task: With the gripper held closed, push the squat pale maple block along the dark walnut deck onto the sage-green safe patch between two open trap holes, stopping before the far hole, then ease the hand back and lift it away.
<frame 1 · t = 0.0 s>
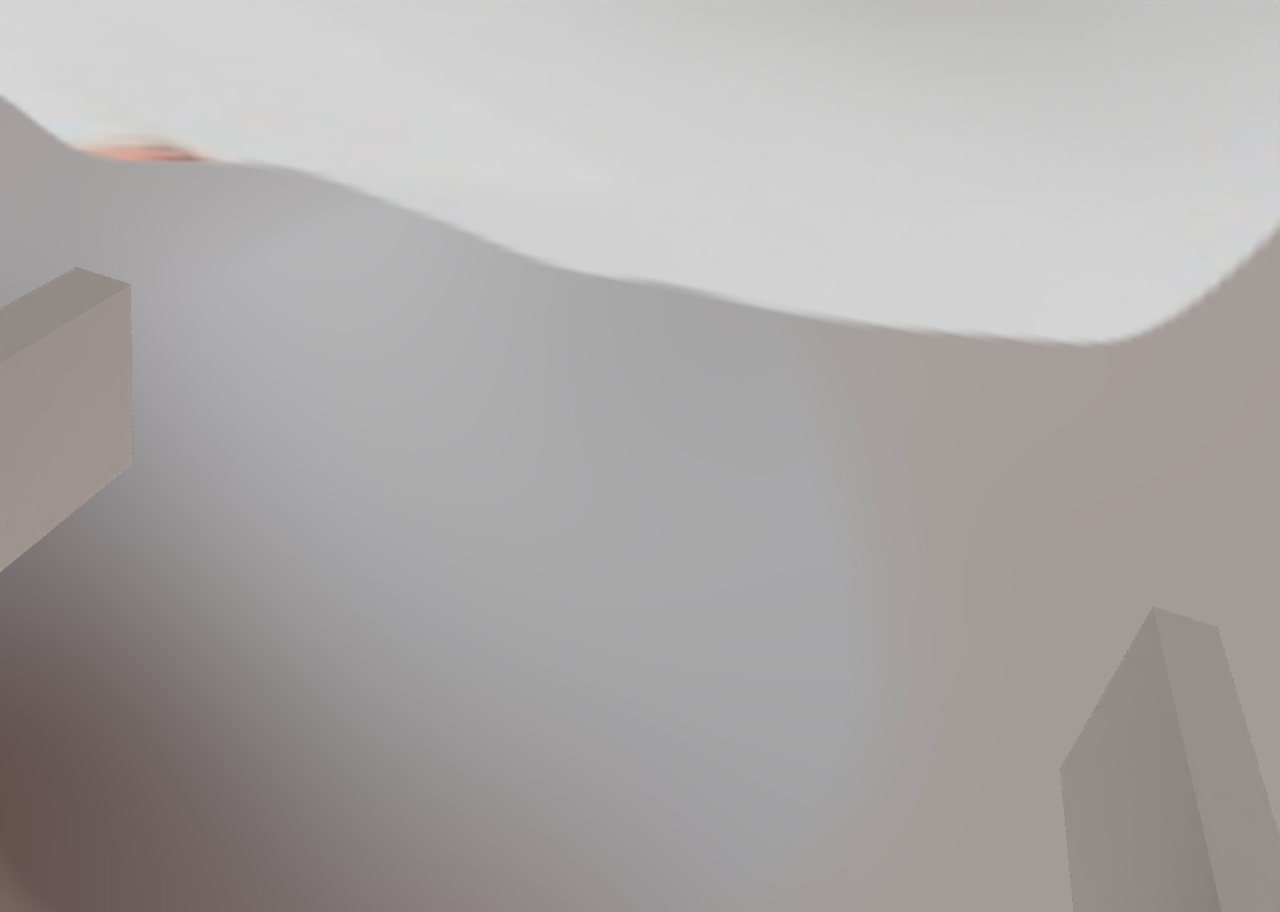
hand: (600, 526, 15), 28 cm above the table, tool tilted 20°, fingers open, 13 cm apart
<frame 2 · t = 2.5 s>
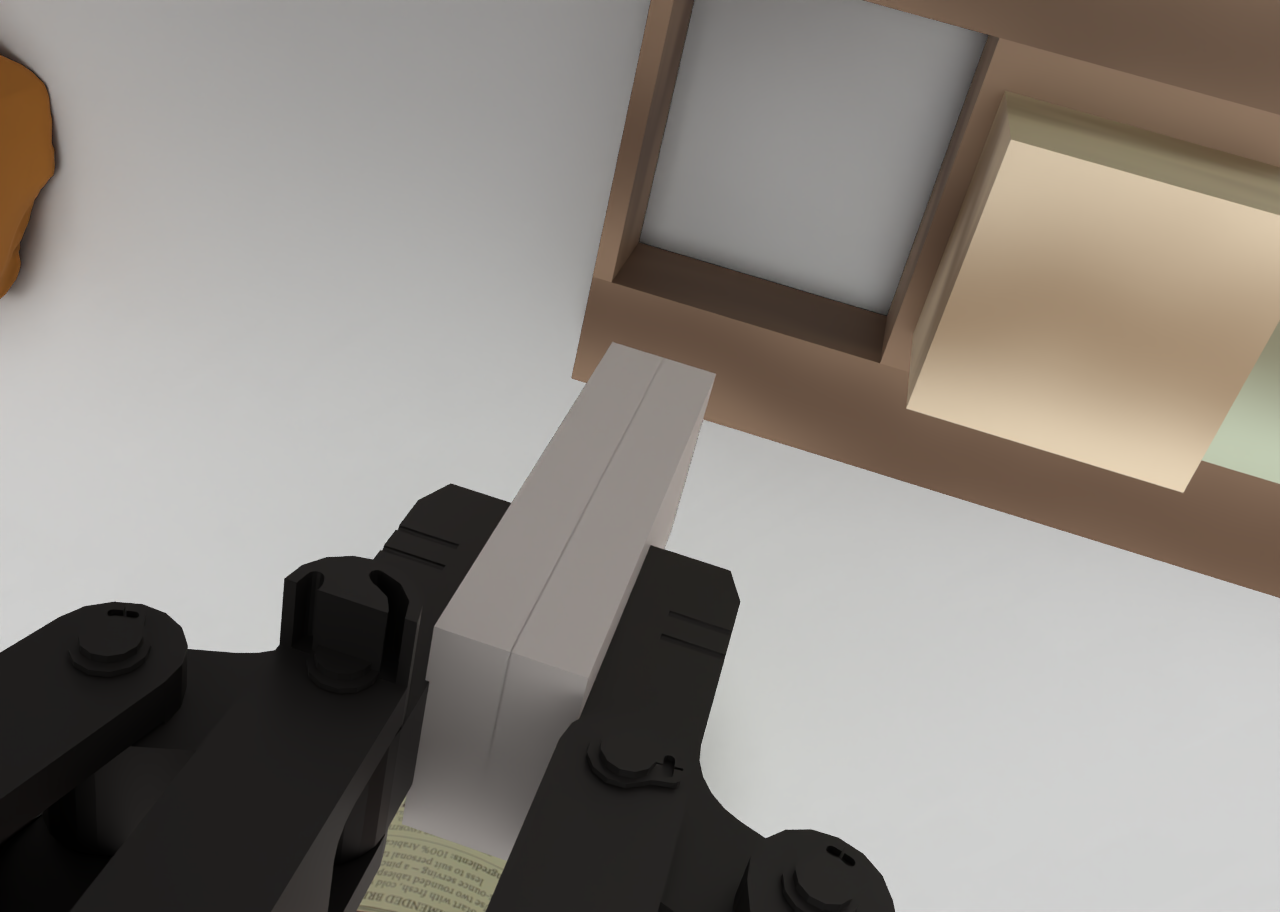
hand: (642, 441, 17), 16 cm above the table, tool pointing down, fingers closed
coffee can: (547, 709, 43), on the table
maple block: (1085, 256, 27), point 3 cm above the table, touching trap deck
trap deck: (1194, 248, 30), on the table
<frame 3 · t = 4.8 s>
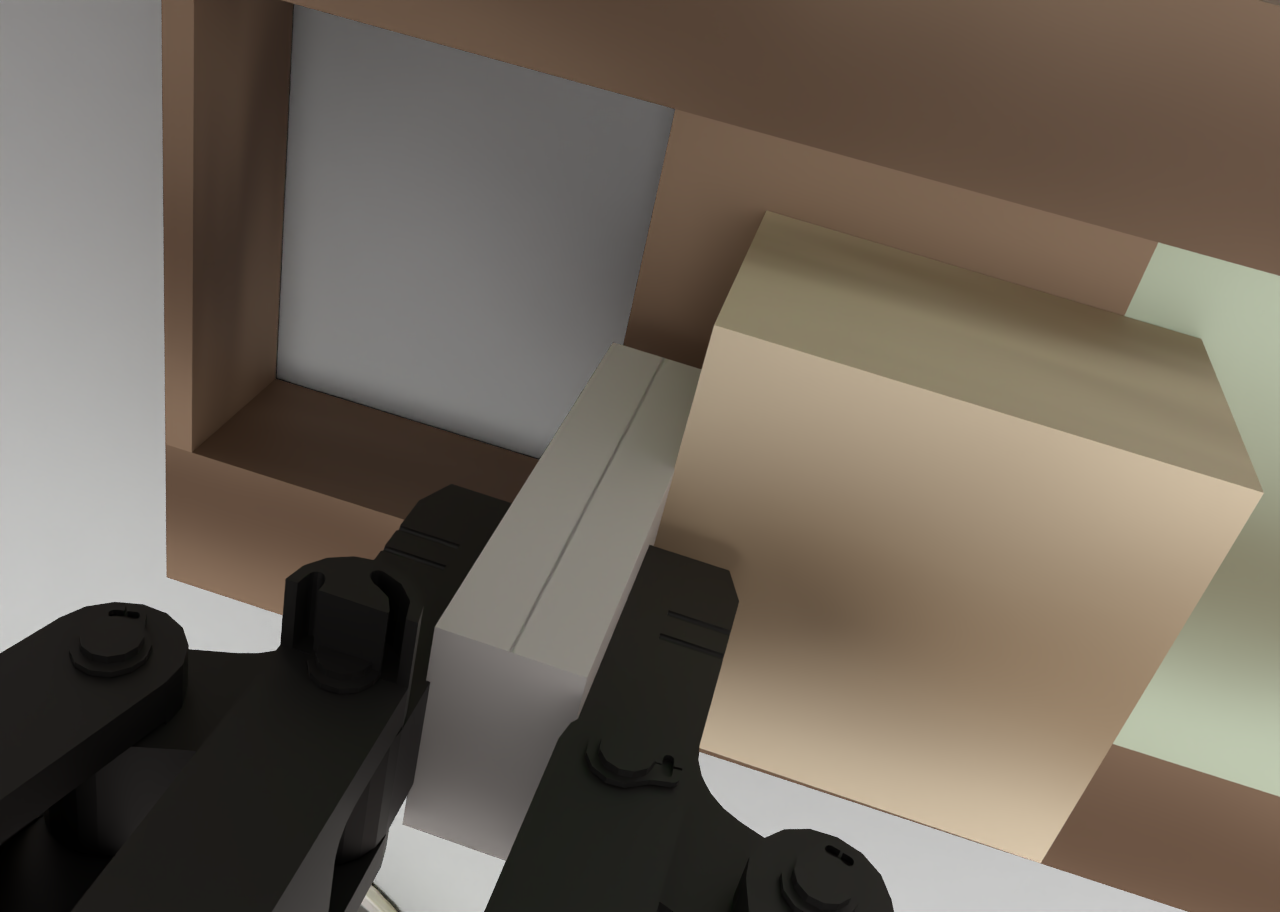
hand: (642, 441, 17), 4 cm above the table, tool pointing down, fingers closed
maple block: (907, 456, 18), point 3 cm above the table, touching gripper
trap deck: (1031, 402, 20), on the table
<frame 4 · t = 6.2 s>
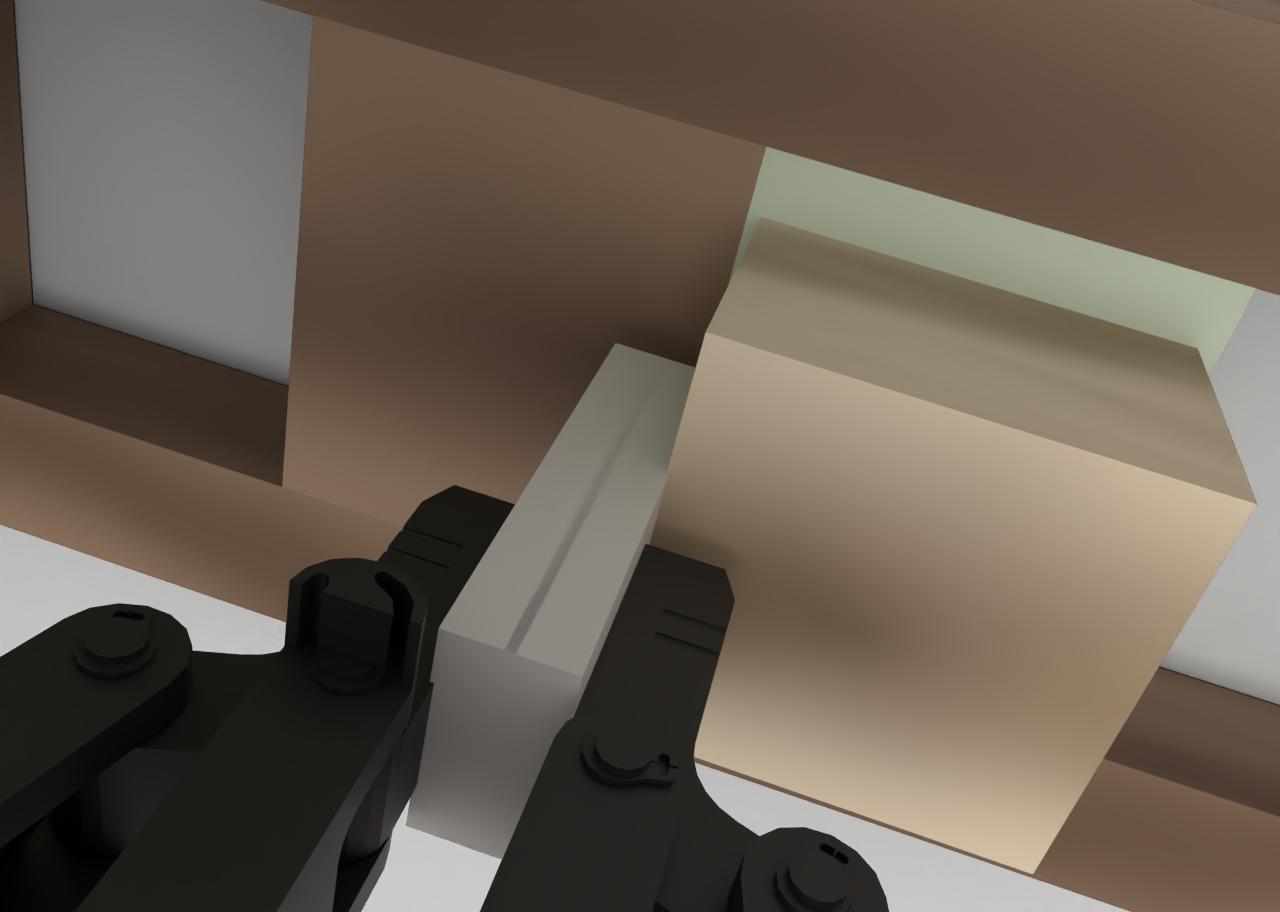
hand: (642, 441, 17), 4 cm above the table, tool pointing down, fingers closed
maple block: (902, 464, 18), point 3 cm above the table, touching gripper, trap deck
trap deck: (730, 325, 21), on the table
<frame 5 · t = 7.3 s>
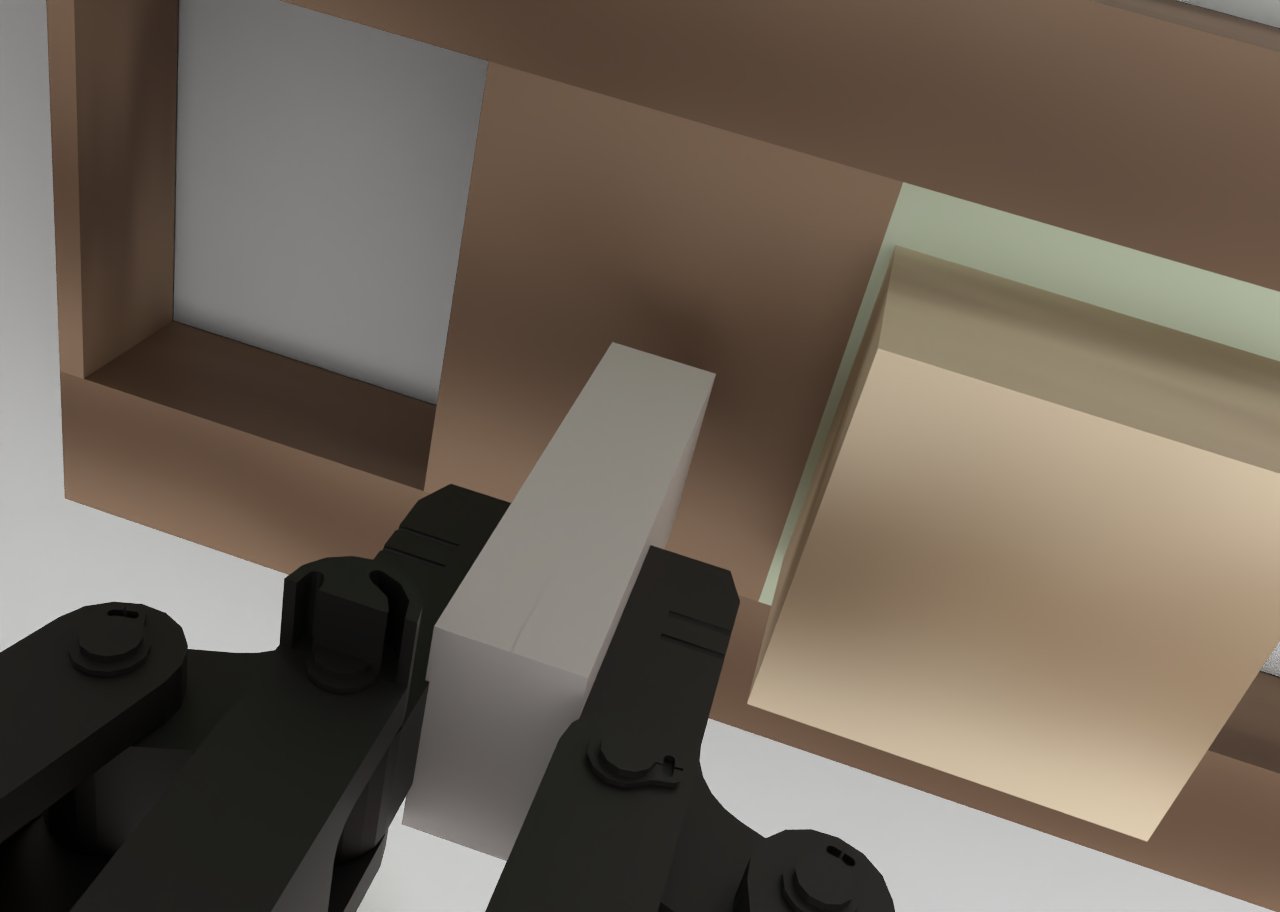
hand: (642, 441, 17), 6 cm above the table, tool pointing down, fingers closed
maple block: (1014, 470, 19), point 3 cm above the table, touching trap deck
trap deck: (840, 343, 22), on the table
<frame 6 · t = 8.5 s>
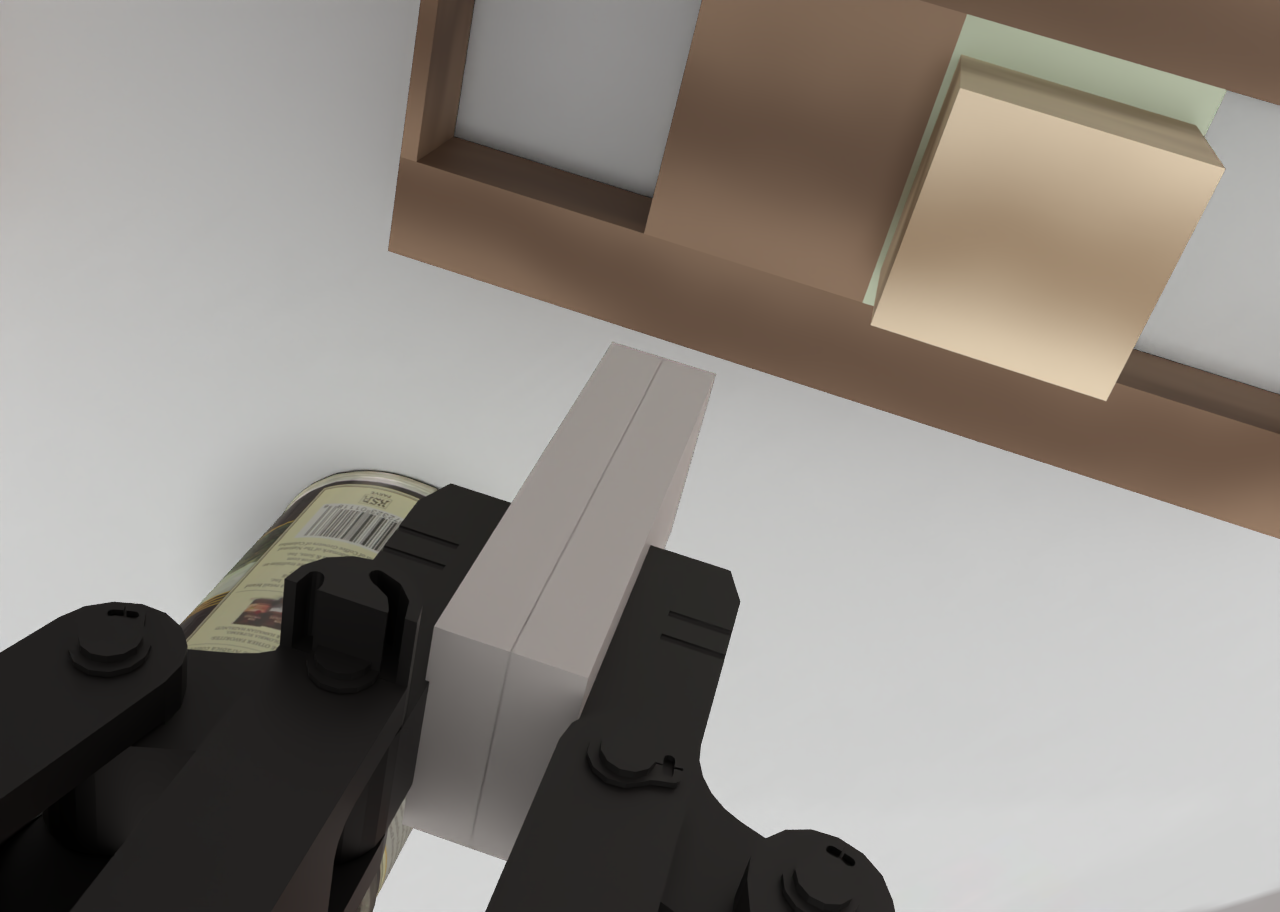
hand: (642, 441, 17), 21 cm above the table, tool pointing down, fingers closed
coffee can: (400, 581, 47), on the table
maple block: (1029, 201, 31), point 3 cm above the table, touching trap deck
trap deck: (915, 139, 34), on the table
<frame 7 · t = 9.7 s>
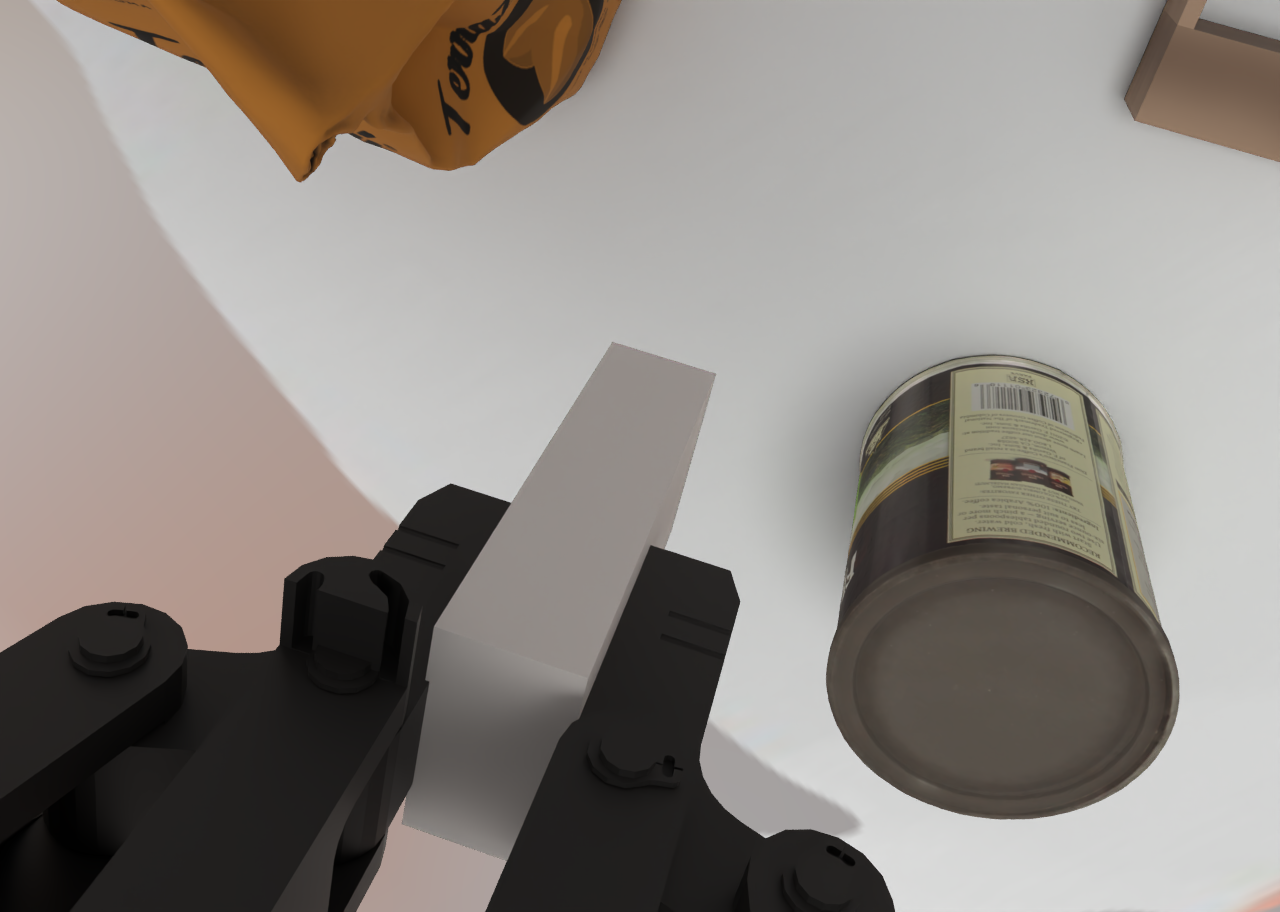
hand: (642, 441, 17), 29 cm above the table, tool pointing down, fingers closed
coffee can: (989, 468, 49), on the table
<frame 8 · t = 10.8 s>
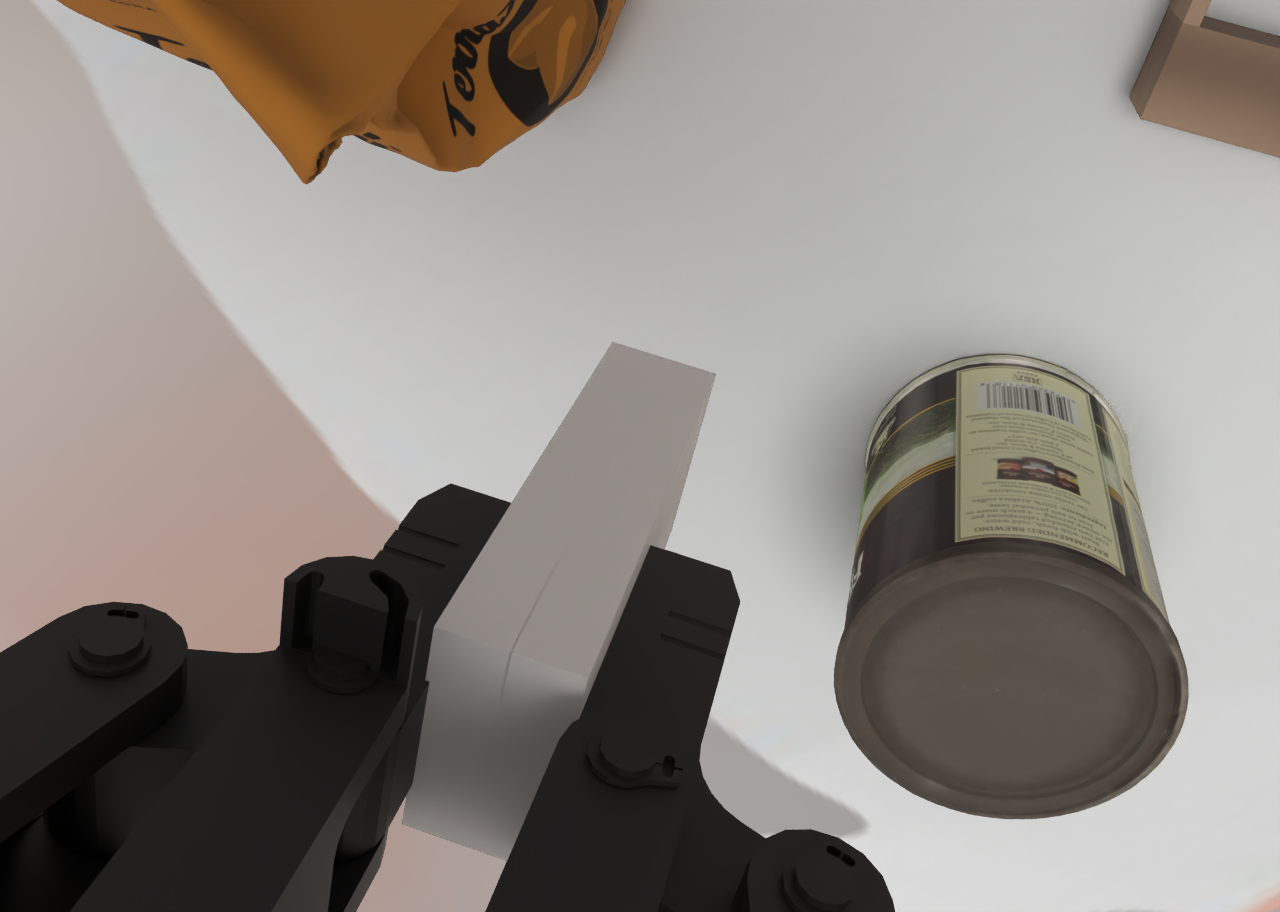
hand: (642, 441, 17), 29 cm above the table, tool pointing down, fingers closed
coffee can: (995, 467, 49), on the table
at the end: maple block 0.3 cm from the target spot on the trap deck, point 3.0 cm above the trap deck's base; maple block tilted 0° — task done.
